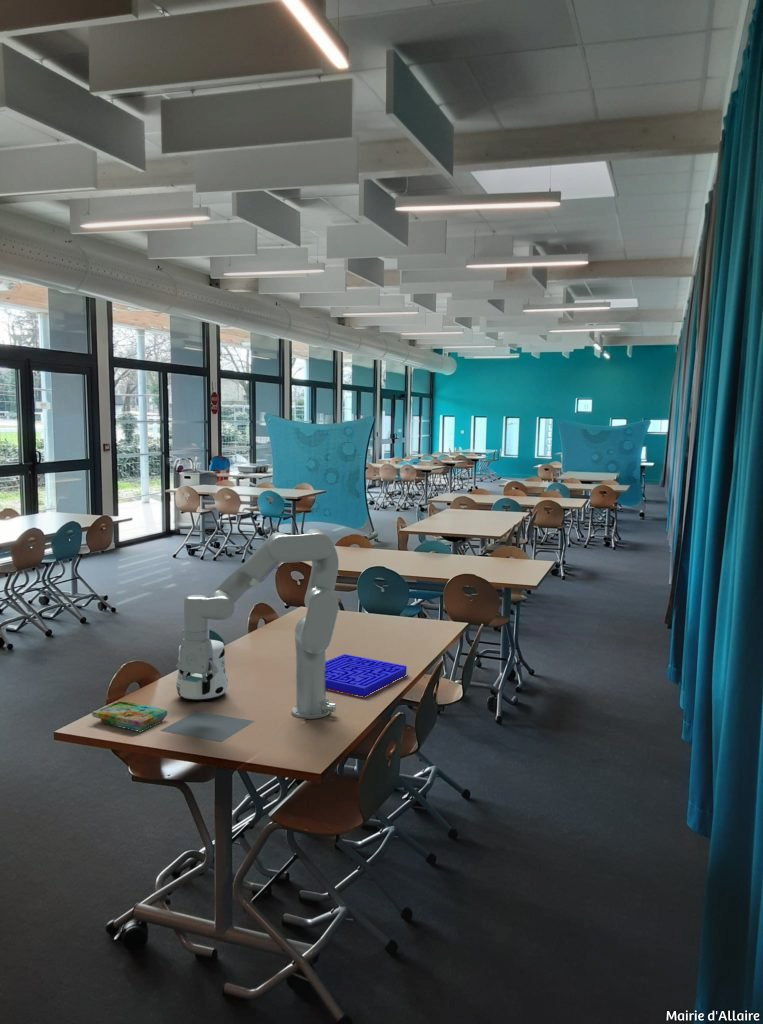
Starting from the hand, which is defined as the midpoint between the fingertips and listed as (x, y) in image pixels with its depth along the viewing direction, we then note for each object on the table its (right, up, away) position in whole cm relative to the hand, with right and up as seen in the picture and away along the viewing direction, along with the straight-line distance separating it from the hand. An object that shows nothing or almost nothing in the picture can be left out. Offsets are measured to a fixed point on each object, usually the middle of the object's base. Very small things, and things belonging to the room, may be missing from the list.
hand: (197, 691), depth 234 cm
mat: (+4, -11, -3) cm, 12 cm away
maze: (+47, -7, +45) cm, 66 cm away
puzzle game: (-22, -11, +2) cm, 24 cm away
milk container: (-4, -8, +26) cm, 27 cm away
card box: (0, -1, 0) cm, 1 cm away
